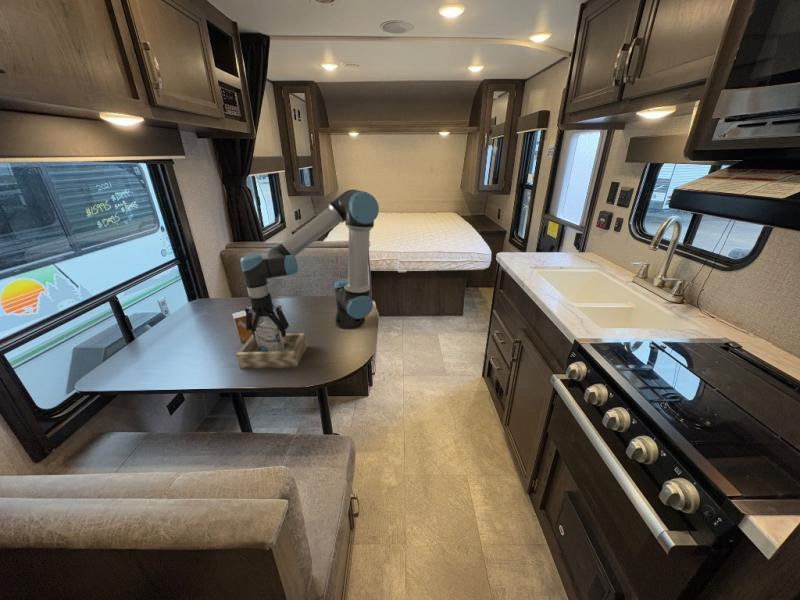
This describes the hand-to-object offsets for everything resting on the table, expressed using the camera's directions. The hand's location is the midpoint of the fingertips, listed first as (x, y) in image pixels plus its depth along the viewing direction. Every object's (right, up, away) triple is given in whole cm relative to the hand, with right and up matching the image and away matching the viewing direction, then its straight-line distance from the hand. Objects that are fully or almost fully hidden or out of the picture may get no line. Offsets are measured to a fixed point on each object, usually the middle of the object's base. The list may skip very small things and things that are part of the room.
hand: (271, 343), depth 128 cm
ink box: (0, -3, +2) cm, 4 cm away
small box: (-19, 0, +18) cm, 26 cm away
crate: (0, -6, +3) cm, 7 cm away
